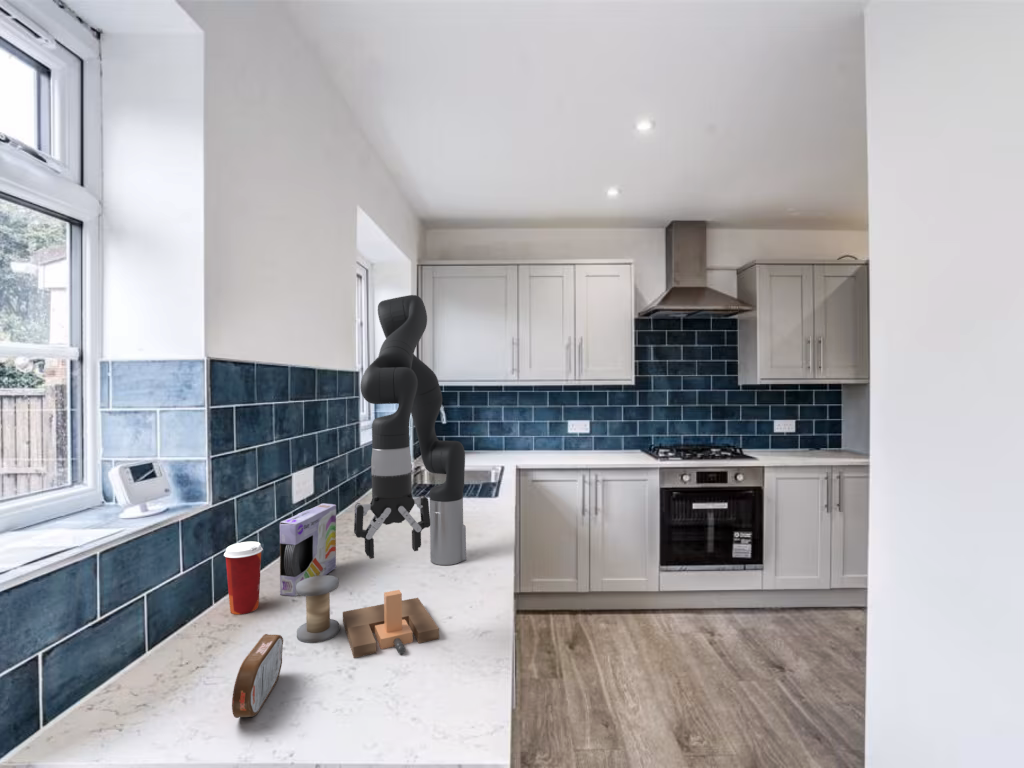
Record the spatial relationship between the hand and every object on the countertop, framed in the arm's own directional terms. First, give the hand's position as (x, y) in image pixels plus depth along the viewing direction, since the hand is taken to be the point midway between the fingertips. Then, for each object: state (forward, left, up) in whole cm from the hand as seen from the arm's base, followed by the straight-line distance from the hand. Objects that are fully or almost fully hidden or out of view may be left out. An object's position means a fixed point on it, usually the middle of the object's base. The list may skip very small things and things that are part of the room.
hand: (393, 553), depth 101 cm
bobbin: (+13, -9, -17) cm, 23 cm away
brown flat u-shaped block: (0, -4, -17) cm, 17 cm away
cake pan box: (+13, -38, -17) cm, 44 cm away
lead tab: (0, +2, -17) cm, 17 cm away
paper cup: (+27, -28, -17) cm, 43 cm away
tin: (+23, +10, -17) cm, 30 cm away
